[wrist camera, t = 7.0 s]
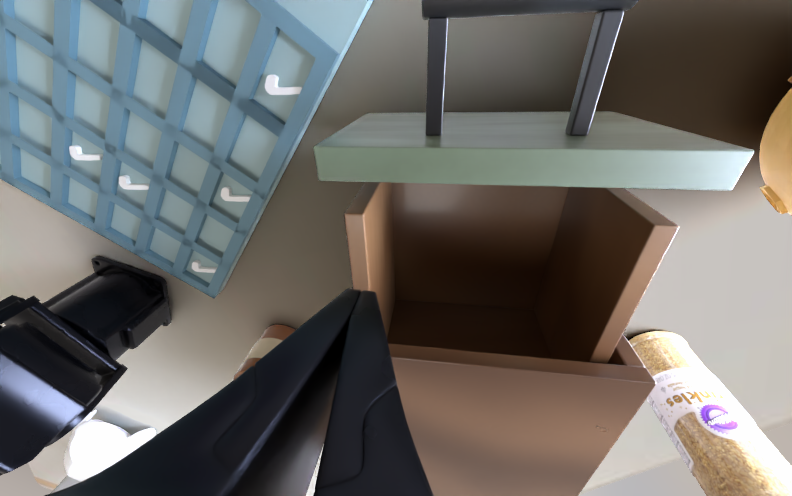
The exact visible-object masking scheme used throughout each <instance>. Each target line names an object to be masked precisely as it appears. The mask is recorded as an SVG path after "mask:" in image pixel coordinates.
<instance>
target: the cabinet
mask: <svg viewBox="0 0 792 496" xmlns="http://www.w3.org/2000/svg"><path fill="white" fill-rule="evenodd" d="M352 289H353V287H352ZM388 346H389V350H390V355H391V359H392V363H393V368H394V372H395V377H396V381H397V387H398V389H399V393H400V398H401V402H402V405H403V409H404V413H405V417H406V420H407V424H408V427H409V430H410V433H411V436H412V439H413V441H414V444H415V447H416V450H417V453H418V455H419V458H420V461H421V463H422V466H423V469H424V471H425V474H426V477H427V479H428V482H429V484H430V487H431V490H432V492H433V495H434V496H578V495H579V493H580V492H581V491H582V489H583V488H584V486H585V485H586V483H587V482H588V481H589V479H590V478H591V476H592V475H593V473H594V472H595V471H596V469H597V468H598V466H599V465H600V464H601V462H602V461H603V459H604V458H605V456H606V455H607V454H608V452H609V451H610V449H611V448H612V446H613V445H614V444H615V442H616V441H617V439H618V438H619V437H620V435H621V434H622V432H623V431H624V429H625V428H626V427H627V425H628V424H629V422H630V421H631V419H632V418H633V417H634V415H635V414H636V412H637V411H638V410H639V408H640V407H641V405H642V404H643V402H644V401H645V400H646V398H647V397H648V395H649V394H650V392H651V391H652V390H653V388H654V387H655V385H656V382H655V380H654V379H653V377H652V376H651V374H650V373H649V371H648V370H647V368H645V366H644V364H643V363H642V361H641V360H640V358H639V357H638V355H637V354H636V352H635V351H634V349H633V348H632V346H631V345H630V343H629V342H628V340H627V339H626V337H625V336H624V334H622V336H621V338H620V340H619V342H618V344H617V345H616V347H615V349H614V351H613V353H612V355H611V357H610V359H609V360H608V362H607V364H602V363H592V362H581V361H570V360H560V359H549V358H538V357H528V356H517V355H506V354H496V353H485V352H474V351H464V350H453V349H442V348H432V347H421V346H410V345H400V344H389V343H388Z"/></svg>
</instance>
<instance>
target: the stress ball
mask: <svg viewBox="0 0 792 496" xmlns="http://www.w3.org/2000/svg"><path fill="white" fill-rule="evenodd" d="M787 81H789V82H790V83H792V76H791V77H790V78H789V79H788V80H787ZM759 161H760V171H761V174H762V177H763V180H764V183H765V185H764V186H762V187H759V188H760V189H761V191H762V192H763V194H764V196H765V197H766V199H767V200H768V201H769V202H770V204H771V205H772V206H773V207H774V208H775V210H776V211H777V212H779V213H781V214H784V213H789V214H790V215H791V216H792V88H791V89H790V90H789V91H788V92H787V94H786V95H785V96H784V97H783V98H782V100H781V101H780V103H779V104H778V106H777V107H776V109H775V110H774V112H773V113H772V115H771V117H770V119H769V121H768V123H767V126H766V128H765V130H764V134H763V137H762V140H761V143H760V155H759Z"/></svg>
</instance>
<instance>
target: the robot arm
mask: <svg viewBox="0 0 792 496" xmlns="http://www.w3.org/2000/svg"><path fill="white" fill-rule="evenodd" d="M92 264H93V267H94V271H95V273H93V274H92V275H90V276H88V277H86V278H85V279H83V280H81V281H80V282H78V283H76V284H75V285H73V286H71V287H70V288H68V289H66V290H65V291H63V292H61V293H60V294H58V295H56V296H54V297H53V298H51V299H49V300H48V301H46V302H44V303H43V304H41V303H40V302H39V301H40V300H39V299H37V298H36V297H35V296H32V297H30V298H28V299H26V300H25V299H24V298H20V297H17V296H14V295H11V296H9V297H8V298H6V299H4V300H2V301H0V324H2V323H5V324H6V326H4V327H2V326H1V325H0V475H2V474H5V473H8V472H10V471H13V470H14V469H16V468H18V467H20V466H22V465H24V464H26V463H28V462H30V461H31V460H33V459H34V458H35V457H36V456H37V455H38V454H39V453H40V452H41V451H42V450H43V448H44V447H47V446H49V445H51V444H53V443H54V442H56V441H57V440H59V439H60V438H62V437H63V436H64V435H66V434H67V433H68V432H70V431H71V430H72V429H73V428H74V427H76V426H77V425H78V424H79V423H80V422H81V421H82V420H83V419H84V418H85V417H86V416H87V415H88V414H89V413H90V412H91V411H92V410H93V409H94V408H95V407H96V405H97V404H98V403H99V402H100V401H101V399H102V398H103V397H104V396H105V395H106V394H107V392H108V391H109V390H110V389H111V388H112V387H113V385H114V384H115V383H116V382H117V381H118V380H119V378H120V377H121V376H122V375H123V374H124V373H125V371H126V370H127V369H128V368H127V367H125V366H124V365H123V364H122V365H121V364H119V363H118V362H117V361H115V360H117V359H118V358H119V357H120V356H121V355H122V354H123V353H124V352H125V351H127V350H128V349H129V348H130V349H134V348H136V347H138V346H139V345H140V344H141V343H142V342H143V341H144V340H145V339H146V338H147V337H148V336H150V335H151V334H152V333H153V332H154V331H155V330H156V329H157V328H158V327H159V326H160V325H163V326H168V325H169V324H170V323H171V317H170V309H169V301H168V293H167V286H166V281H165V280H164V279H163V278H162V277H160V276H157V275H154V274H151V273H148V272H145V271H142V270H139V269H136V268H133V267H130V266H127V265H124V264H122V263H119V262H116V261H113V260H110V259H107V258H104V257H101V256H96V257H94V258H93V259H92ZM323 444H324V446H323ZM322 447H323V451H322V456H321V461H320V466H319V471H318V476H317V481H316V485H315V492H314V496H434V495H433V492H432V490H431V487H430V484H429V482H428V479H427V477H426V474H425V471H424V469H423V466H422V463H421V461H420V458H419V455H418V453H417V450H416V447H415V444H414V441H413V439H412V436H411V433H410V430H409V427H408V424H407V420H406V417H405V413H404V409H403V405H402V402H401V398H400V393H399V389H398V387H397V381H396V377H395V372H394V368H393V363H392V359H391V355H390V350H389V346H388V342H387V337H386V333H385V329H384V324H383V320H382V316H381V311H380V307H379V303H378V298H377V294H376V292H374V291H367V290H363V291H362V292H361V290H358V289H350V288H349V289H346V290H345V291H344V292H342V293H341V294H340V295H339V296H337V297H336V298H335V299H334V300H333V301H331V302H330V303H329V304H328V305H326V306H325V307H324V308H323V309H321V310H320V311H319V312H318V313H316V314H315V315H314V316H313V317H312V318H310V319H309V320H308V321H307V322H305V323H304V324H303V325H302V326H300V327H299V328H298V329H297V330H295V331H294V332H293V333H292V334H291V335H289V336H288V337H287V338H286V339H284V340H283V341H282V342H281V343H279V344H278V345H277V346H276V347H274V348H273V349H272V350H271V351H270V352H268V353H267V354H266V355H265V356H263V357H262V358H261V359H260V360H258V361H257V362H256V363H255V367H254V366H251V367H250V368H248V369H247V370H246V371H245V372H243V373H242V374H241V375H240V376H238V377H237V378H236V379H235V380H233V381H232V382H231V383H229V384H228V385H227V386H226V387H224V388H223V389H222V390H220V391H219V392H218V393H216V394H215V395H214V396H212V397H211V398H209V399H208V400H207V401H205V402H204V403H202V404H201V405H200V406H198V407H197V408H195V409H194V410H193V411H191V412H190V413H188V414H187V415H185V416H184V417H182V418H181V419H179V420H178V421H176V422H175V423H174V424H172V425H171V426H169V427H168V428H166V429H165V430H163V431H162V432H160V433H159V434H158V435H156V436H155V437H153V438H152V439H150V440H149V441H147V442H146V443H144V444H143V445H141V446H140V447H139V448H137V449H136V450H134V451H133V452H131V453H130V454H128V455H127V456H125V457H124V458H122V459H121V460H119V461H118V462H116V463H115V464H113V465H111V466H110V467H108V468H106V469H105V470H103V471H101V472H99V473H98V474H96V475H94V476H92V477H90V478H88V479H86V480H84V481H81V482H79V483H77V484H75V485H72V486H70V487H67V488H65V489H62V490H59V491H57V492H54V493H51V494H48V495H45V496H306V493H307V490H308V487H309V484H310V481H311V478H312V476H313V473H314V470H315V467H316V464H317V461H318V458H319V456H320V453H321V450H322Z"/></svg>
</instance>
